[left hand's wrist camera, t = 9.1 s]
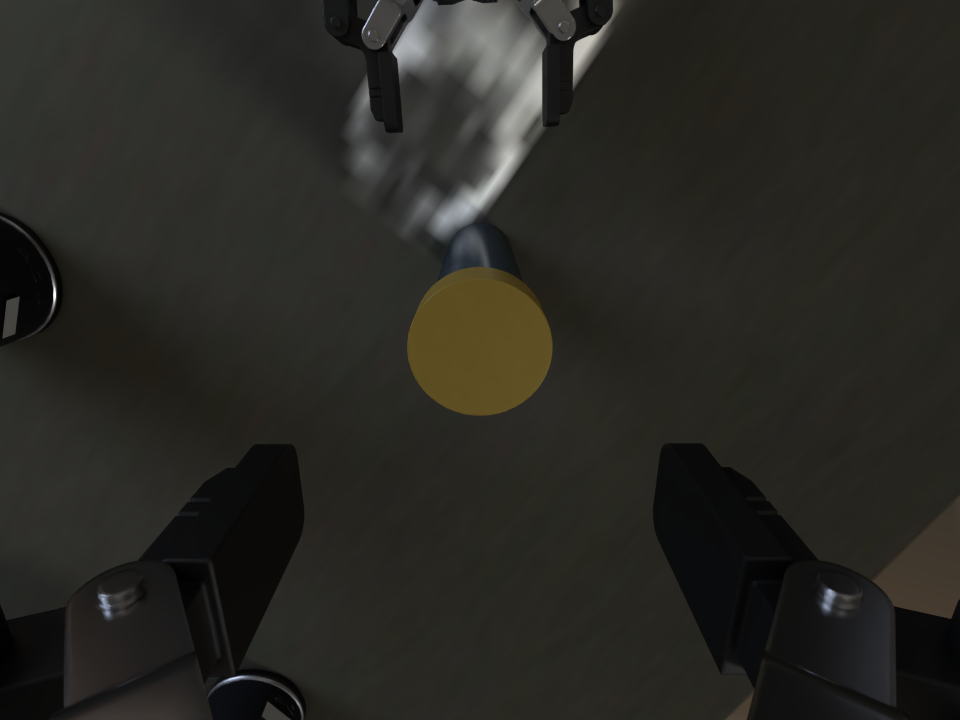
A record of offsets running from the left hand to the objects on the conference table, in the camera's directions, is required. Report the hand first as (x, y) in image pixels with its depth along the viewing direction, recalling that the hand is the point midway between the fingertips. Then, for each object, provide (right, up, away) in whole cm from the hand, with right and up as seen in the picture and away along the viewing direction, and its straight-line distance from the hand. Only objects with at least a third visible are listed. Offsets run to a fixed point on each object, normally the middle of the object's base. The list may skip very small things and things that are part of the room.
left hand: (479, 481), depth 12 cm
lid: (0, +3, +8) cm, 9 cm away
